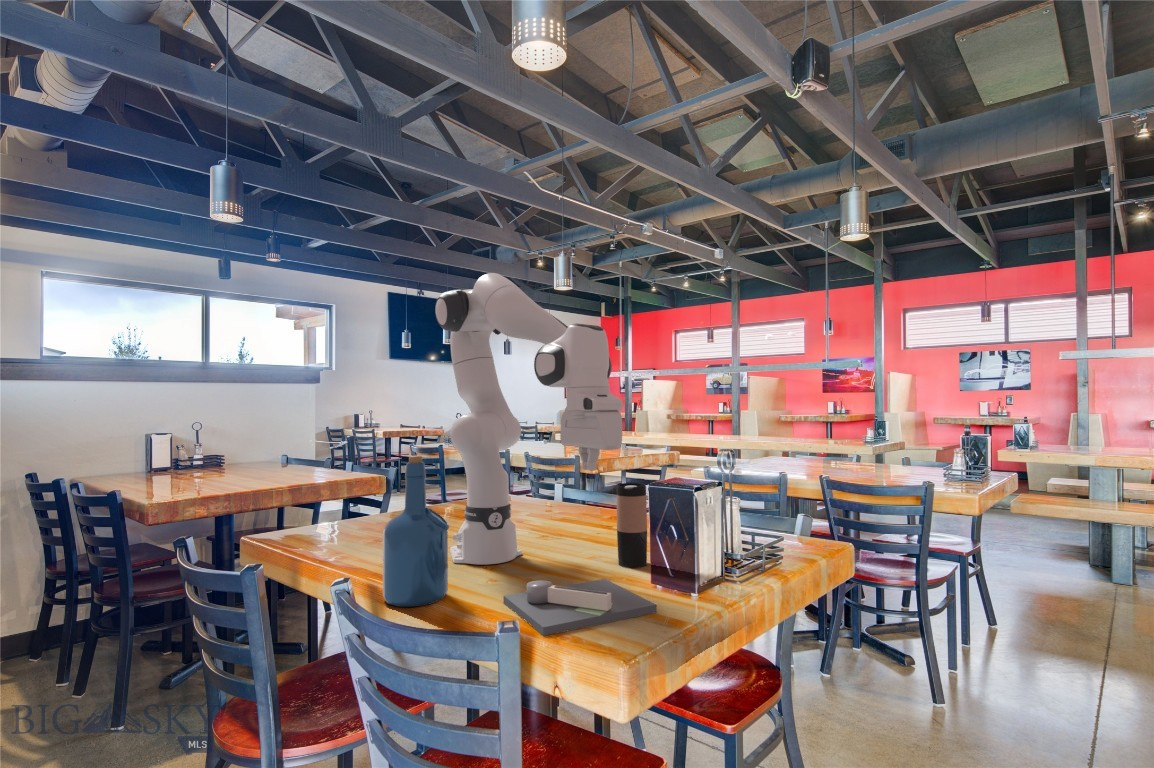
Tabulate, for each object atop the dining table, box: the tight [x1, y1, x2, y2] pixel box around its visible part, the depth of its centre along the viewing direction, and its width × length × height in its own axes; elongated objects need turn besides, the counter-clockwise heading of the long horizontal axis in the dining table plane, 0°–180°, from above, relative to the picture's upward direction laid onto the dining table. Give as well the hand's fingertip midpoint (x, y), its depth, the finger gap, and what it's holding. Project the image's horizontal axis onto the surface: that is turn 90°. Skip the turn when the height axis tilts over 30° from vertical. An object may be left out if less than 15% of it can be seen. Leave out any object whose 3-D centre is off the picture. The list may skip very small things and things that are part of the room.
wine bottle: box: [382, 455, 450, 608], centre depth 125 cm, size 14×13×30 cm
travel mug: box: [616, 482, 648, 569], centre depth 150 cm, size 8×8×20 cm
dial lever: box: [526, 579, 611, 611], centre depth 114 cm, size 5×18×3 cm, turn 65°
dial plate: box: [502, 578, 658, 637], centre depth 117 cm, size 20×24×2 cm
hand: (589, 470), depth 120 cm, fingers closed
